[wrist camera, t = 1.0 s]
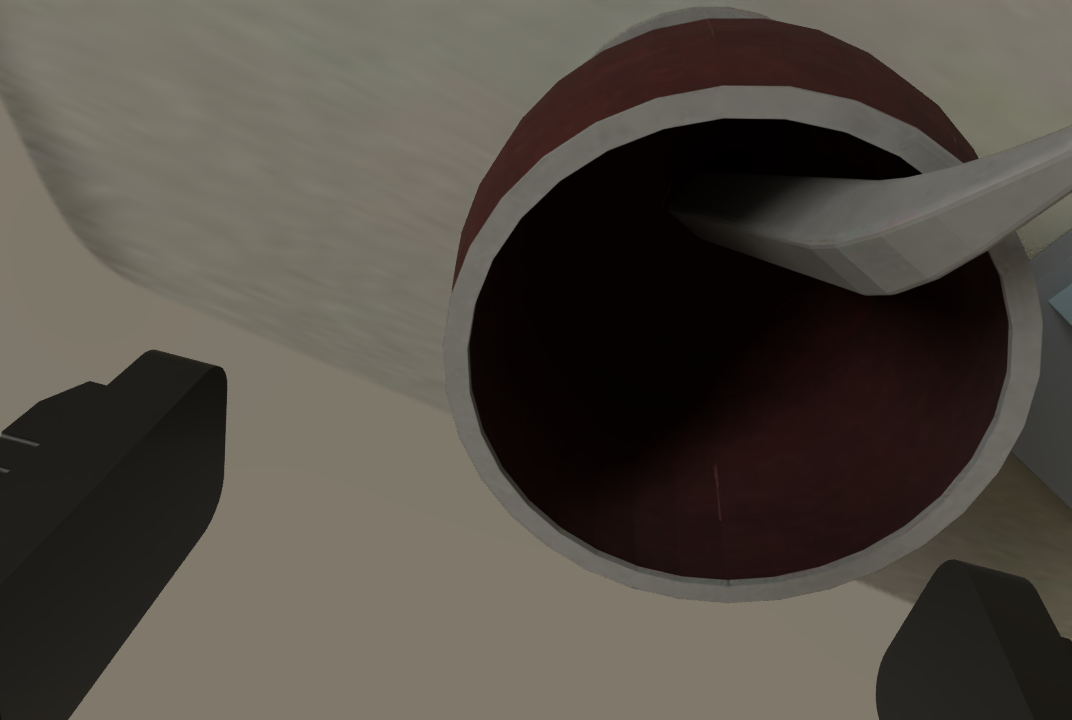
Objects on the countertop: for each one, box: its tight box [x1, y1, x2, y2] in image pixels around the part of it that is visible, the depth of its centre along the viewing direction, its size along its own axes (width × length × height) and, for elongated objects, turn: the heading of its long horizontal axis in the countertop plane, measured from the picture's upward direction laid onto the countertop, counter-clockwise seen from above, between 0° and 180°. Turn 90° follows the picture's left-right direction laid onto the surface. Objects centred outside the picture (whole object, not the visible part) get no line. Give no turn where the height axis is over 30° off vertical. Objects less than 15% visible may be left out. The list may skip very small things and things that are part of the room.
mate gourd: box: [443, 7, 1072, 603], centre depth 25 cm, size 16×14×20 cm
